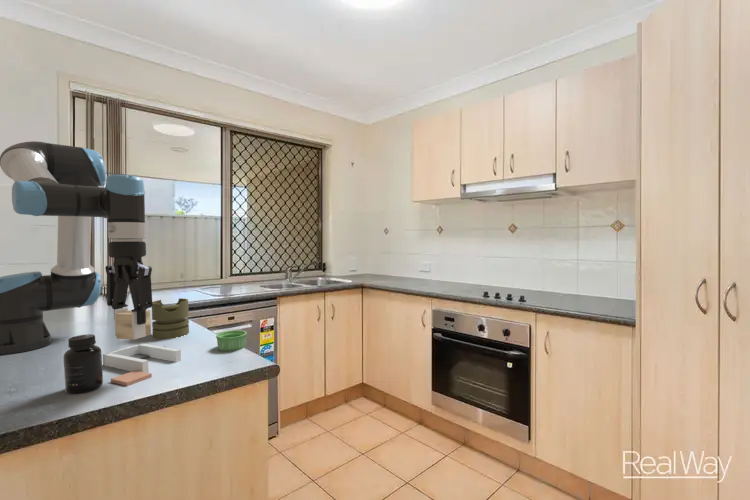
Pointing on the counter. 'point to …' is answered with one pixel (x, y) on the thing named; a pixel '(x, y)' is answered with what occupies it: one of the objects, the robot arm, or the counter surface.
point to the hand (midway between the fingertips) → (130, 336)
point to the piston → (170, 319)
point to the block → (129, 324)
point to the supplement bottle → (83, 365)
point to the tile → (131, 377)
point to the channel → (139, 357)
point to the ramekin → (231, 340)
